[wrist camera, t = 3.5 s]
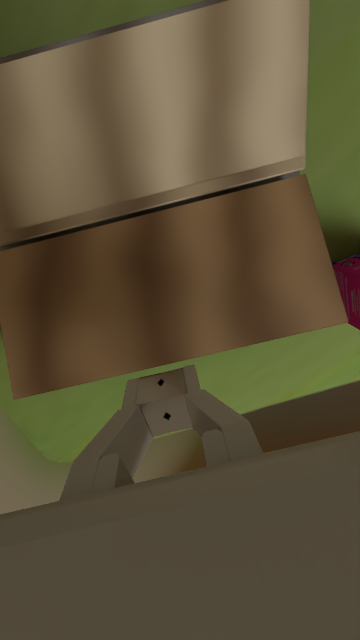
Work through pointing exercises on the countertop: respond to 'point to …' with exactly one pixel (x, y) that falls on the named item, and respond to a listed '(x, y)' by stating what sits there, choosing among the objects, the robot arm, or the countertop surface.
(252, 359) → the countertop surface
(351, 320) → the supplement box
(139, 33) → the floor board
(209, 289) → the walnut plank
